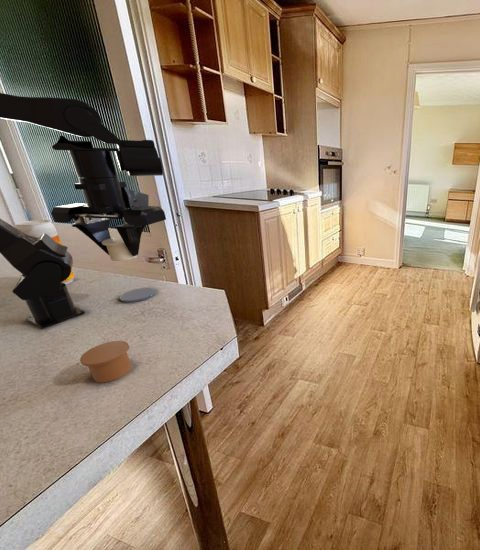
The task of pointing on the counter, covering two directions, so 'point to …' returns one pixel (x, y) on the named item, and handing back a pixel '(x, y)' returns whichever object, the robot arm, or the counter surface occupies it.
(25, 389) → the counter surface
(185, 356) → the counter surface
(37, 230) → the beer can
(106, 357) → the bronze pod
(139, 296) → the saucer
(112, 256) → the cream pod
